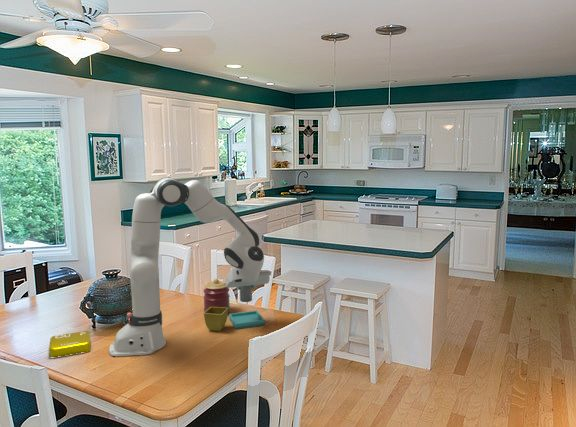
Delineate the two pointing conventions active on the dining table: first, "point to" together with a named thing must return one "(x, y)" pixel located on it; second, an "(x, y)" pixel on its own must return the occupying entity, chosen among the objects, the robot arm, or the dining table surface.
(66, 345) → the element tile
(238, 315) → the tray
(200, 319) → the dining table surface
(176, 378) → the dining table surface
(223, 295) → the canister
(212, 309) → the flower pot
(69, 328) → the dining table surface
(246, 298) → the dark grey cylinder
